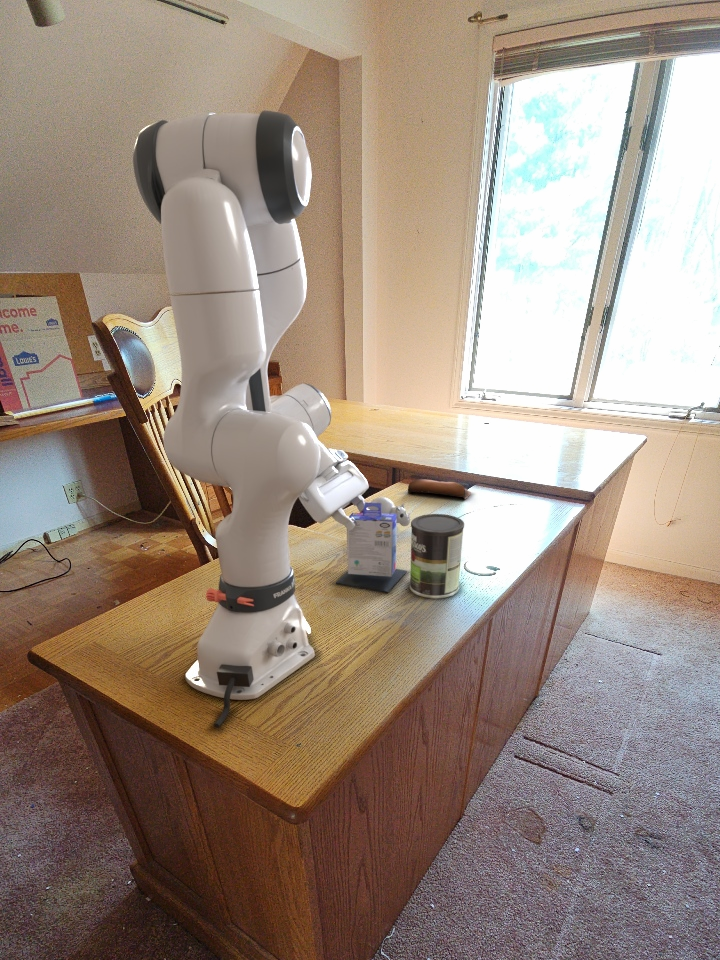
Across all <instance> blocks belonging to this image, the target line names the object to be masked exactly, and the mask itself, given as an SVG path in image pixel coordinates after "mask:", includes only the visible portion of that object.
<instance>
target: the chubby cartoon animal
mask: <svg viewBox="0 0 720 960" xmlns="http://www.w3.org/2000/svg"><path fill="white" fill-rule="evenodd" d="M370 503H382V504H381V514H396V515H397V524H400V526H402V527H408V526H409V525H410V524H411V514H410V512H408V514H407V511H406V509H405V503H402V504H401V505H400V506H399V505H398V506H395V503H394V502H393V501H392V500H391V499H390V498H388V497H385V496H378V497H375V498H373V499H372V500H371V501H370ZM367 508H368V509H369V510H378V509H379V508H377V507H375V506H370V507H367Z"/></svg>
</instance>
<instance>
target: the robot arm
mask: <svg viewBox="0 0 720 960" xmlns="http://www.w3.org/2000/svg"><path fill="white" fill-rule="evenodd" d="M310 158H311V157H310V153H309V150H308V146H307V143H306V140H305V135H304V133H303V131H302V130H301V128H300V126H299V125H298V124H297V123H296V121H295V120H294V119H293V118H292V116H291V115H289V114H287V113H283V112H279V111H273V110H262V111H261V112H260V113H253V112H252V113H251V112H222V113H216V112H214V111H210V112H203V113H197V114H196V113H195V114H192V115H188V116H184V117H181V118H176V119H174V120H171V121H168V120H165V119H162V120H158V121H156V122H153V123H151V124H148V125H147V126H145V127H144V128H142V129H141V130H140V131H139V132H138V135H137V138H136V140H135V144H134V147H133V152H132V164H133V173H134V177H135V182H136V185H137V188H138V191H139V194H140V197H141V199H142V201H143V202H144V205H145V206H146V207H147V210H148V211H149V212H150V214H151V215H152V216H153V218H154V219H155V220H156V221H157V222H158V223H159V224H160V225H161V227H160V228H161V229H160V230H161V243H162V252H163V253H162V254H163V262H164V270H165V276H166V277H165V278H166V283H167V288H168V294H169V299H170V305H171V309H172V315H173V320H174V325H175V330H176V331H175V332H176V337H177V343H178V348H179V354H180V366H181V379H180V380H181V382H180V392H179V397H178V403H177V407H176V409H175V411H174V413H173V414H172V416H171V417H170V418H169V420H168V421H167V423H166V426H165V428H164V431H163V449H164V452H165V456H166V457H167V460H168V461H169V463H170V464H171V465H172V467H173V468H174V469H176V470H177V471H178V472H179V473H182V474H184V475H186V476H188V477H190V478H191V479H194V480H196V481H197V482H200V483H203V484H209V485H215V486H219V487H225V488H230V490H231V492H232V498H233V499H232V500H233V502H232V509H231V512H230V513H229V514H228V515H226V516H225V517H223V519H221V521H220V522H219V523H218V525H217V526H216V529H215V534H214V538H215V544H216V548H217V549H216V550H217V553H218V555H217V556H218V562H219V567H220V575H219V582H218V589H215V588H212V587H210V588H207V590H206V593H205V599H206V600H207V602H215V603H217V605H216V608H215V610H214V611H213V613H212V615H211V617H210V619H209V621H208V623H207V624H206V627H205V628H204V630H203V631H202V634H201V636H200V637H199V639H198V642H197V646H196V654H197V655H196V656H197V660H196V661H195V662H194V663H193V664H192V665H191V667H190V668H189V669H188V670H187V671H186V673H184V676H185V677H184V678H185V681H186V683H187V684H188V685H189V686H190V687H192V688H193V689H195V690H196V691H199V692H201V693H204V694H207V695H209V696H214V697H216V698H221V699H223V708H222V712H221V714H220V715H219V717H218V718H217V719H216V721H215V722H214V723H213V727H214V728H215V729H219V728H220V727H221V726H222V724H223V723H224V722H225V720H226V719H227V717H228V715H229V712H230V710H231V709H230V707H231V705H230V704H231V702H230V701H231V700H234V701H235V700H237V701H248V700H255V699H258V698H259V697H262V695H264V694H266V692H268V691H269V690H271V689H272V688H274V687H275V686H276V685H278V684H280V683H281V682H282V681H283V680H285V679H286V678H287V677H289V676H290V675H292V674H293V673H294V672H295V671H297V670H298V669H300V668H301V667H303V666H305V664H307V663H309V662H310V661H311V660H313V659H314V658H315V657H316V654H315V649H314V648H313V646H312V645H310V644H309V639H308V634H311V627H310V624H309V623H308V622H307V621H306V618H305V617H304V613H303V610H302V608H301V606H300V605H299V602H298V601H297V598H296V596H295V593H296V576H295V574H294V569H293V567H292V566H291V558H290V546H289V545H290V544H289V521H290V517H291V514H292V509H293V507H294V505H295V503H296V501H297V500H298V499H299V501H300V503H301V504H302V506H303V507H304V509H305V510H306V512H307V513H308V514H309V516H310V517H311V518H312V519H313V520H314V521H315V522H317V524H323V523H324V522H326V521H327V520H329V519H331V518H332V519H333V520H334V521H335V522H337V523H339V524H340V525H342V526H344V527H345V528H346V530H347V529H348V530H349V531H351V530H352V529H353V528H354V527H355V526H356V525H357V522H356V521H355V520H354V519H353V518H349V516H348V515H346V514H345V511H344V509H345V508H346V507H347V506H348V505H350V504H352V505H353V506H354V507H356V508H357V510H358V513H363V511H364V505H365V502H366V500H365V498H364V497H363V496H362V495H364V493H366V491H367V490H368V489H369V487H370V486H369V483H368V480H367V479H366V477H365V476H364V475H363V474H362V473H361V472H360V470H359V469H358V468H357V467H356V465H355V464H354V463H353V462H351V460H350V461H349V460H348V458H349V456H348V453H346V451H344V450H343V449H334V448H333V449H332V448H330V447H326V446H325V444H324V443H322V442H321V441H320V439H319V438H318V437H319V436H320V435H322V434H323V433H325V431H326V430H327V428H328V427H329V426H330V425H331V421H332V409H331V405H330V402H329V400H328V398H327V397H326V396H325V394H324V393H323V392H321V390H320V389H318V388H317V387H316V386H314V385H312V384H309V383H304V382H302V383H299V384H297V385H295V386H294V387H291V388H290V389H289V390H287V391H285V392H284V393H283V394H281V395H271V394H270V384H269V377H268V368H269V362H270V359H271V356H272V353H273V351H274V349H275V348H276V346H277V344H278V343H279V341H280V339H282V337H283V336H284V334H285V333H286V331H287V330H288V329H289V327H290V326H291V325H292V324H293V323H294V322H295V321H296V319H297V318H298V316H299V314H300V313H301V311H302V309H303V306H304V304H305V301H306V298H307V286H308V285H307V284H308V283H307V271H306V266H305V261H304V260H305V259H304V254H303V248H302V244H301V238H300V233H299V230H298V226H297V222H296V220H295V219H297V218H299V217H300V216H301V215H302V213H303V212H304V210H305V209H306V207H307V206H308V203H309V200H310V195H311V184H312V164H311V159H310ZM367 510H369V509H368V507H367ZM307 633H308V634H307Z"/></svg>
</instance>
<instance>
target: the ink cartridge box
mask: <svg viewBox="0 0 720 960" xmlns="http://www.w3.org/2000/svg"><path fill="white" fill-rule="evenodd" d="M381 504H382V503H371V502H366V501H365V505H364V511H363V513H360V512H351V514H350V515H349V516H348V517H349V518H353V519H354V520H355V521H356V522H357V525H356V526H355V527H354V528H353V529H352V530H351V531H349V530H348V529H347V528H346V552H347V572H348V574H358V575H374V576H389V577H391V576H392V575H393V573H394V572H395V570H396V569H397V532H398V531H397V526H398V523H397V515H396V514H381ZM370 506H375V507H377V508H379V509H378V510H367V508H368V507H370Z"/></svg>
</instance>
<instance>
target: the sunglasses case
mask: <svg viewBox="0 0 720 960" xmlns="http://www.w3.org/2000/svg"><path fill="white" fill-rule="evenodd" d="M407 493H408V494H410V493H424V494H425V493H429V494H435V495H443V496H453V497H457V498H458V497H459V498H463V500H467V499H468V498H469V497H470V496H471V494H472V492H471V491H470V490H468V489H467V488H465V486H464V485H463V484H460V483H458V482H455V481H443V480H442V481H437V480H434V479H433V480H432V479H425V478H424V479H415V480H411V481H410V482H409V483H408V487H407Z"/></svg>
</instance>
